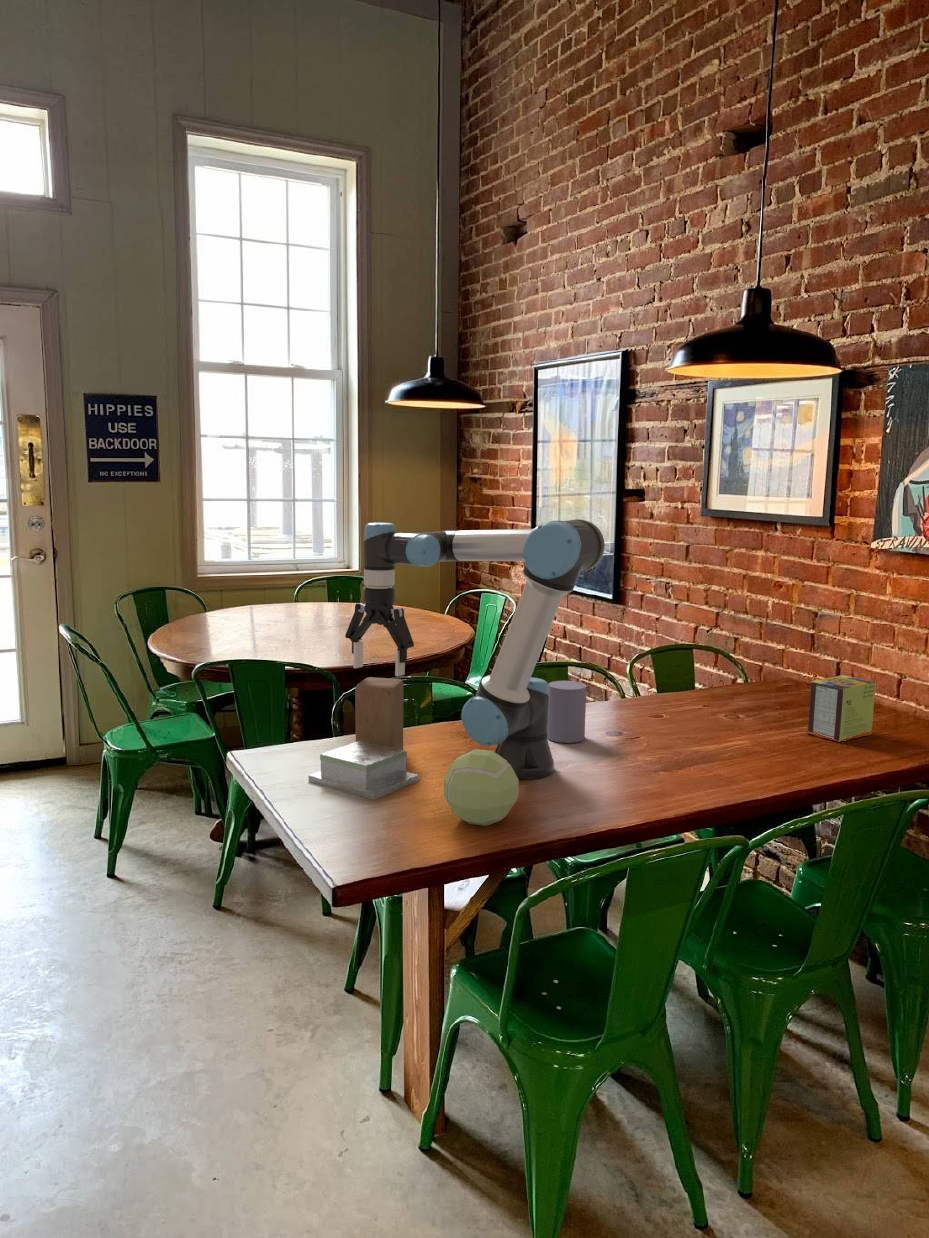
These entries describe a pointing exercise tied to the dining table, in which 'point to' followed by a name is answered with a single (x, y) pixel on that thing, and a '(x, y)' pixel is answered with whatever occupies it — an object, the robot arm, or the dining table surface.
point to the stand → (364, 770)
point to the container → (566, 711)
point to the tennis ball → (481, 787)
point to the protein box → (841, 707)
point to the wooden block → (380, 711)
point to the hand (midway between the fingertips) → (378, 671)
